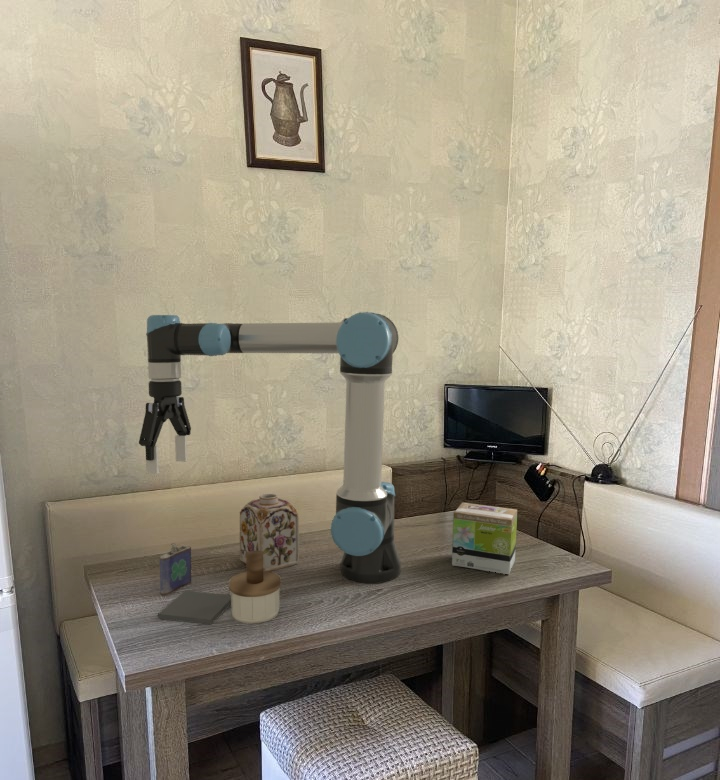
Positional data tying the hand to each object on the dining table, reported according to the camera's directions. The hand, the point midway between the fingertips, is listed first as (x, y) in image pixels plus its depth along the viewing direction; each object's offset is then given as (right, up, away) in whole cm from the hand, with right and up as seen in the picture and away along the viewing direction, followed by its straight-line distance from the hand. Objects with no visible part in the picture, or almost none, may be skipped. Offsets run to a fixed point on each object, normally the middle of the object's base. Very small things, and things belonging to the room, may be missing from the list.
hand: (167, 467), depth 152 cm
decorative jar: (+23, -27, +12) cm, 37 cm away
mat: (+11, -29, -15) cm, 35 cm away
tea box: (+79, -27, +12) cm, 84 cm away
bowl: (+24, -29, -16) cm, 41 cm away
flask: (+3, -28, -4) cm, 29 cm away
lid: (+24, -23, -17) cm, 38 cm away
